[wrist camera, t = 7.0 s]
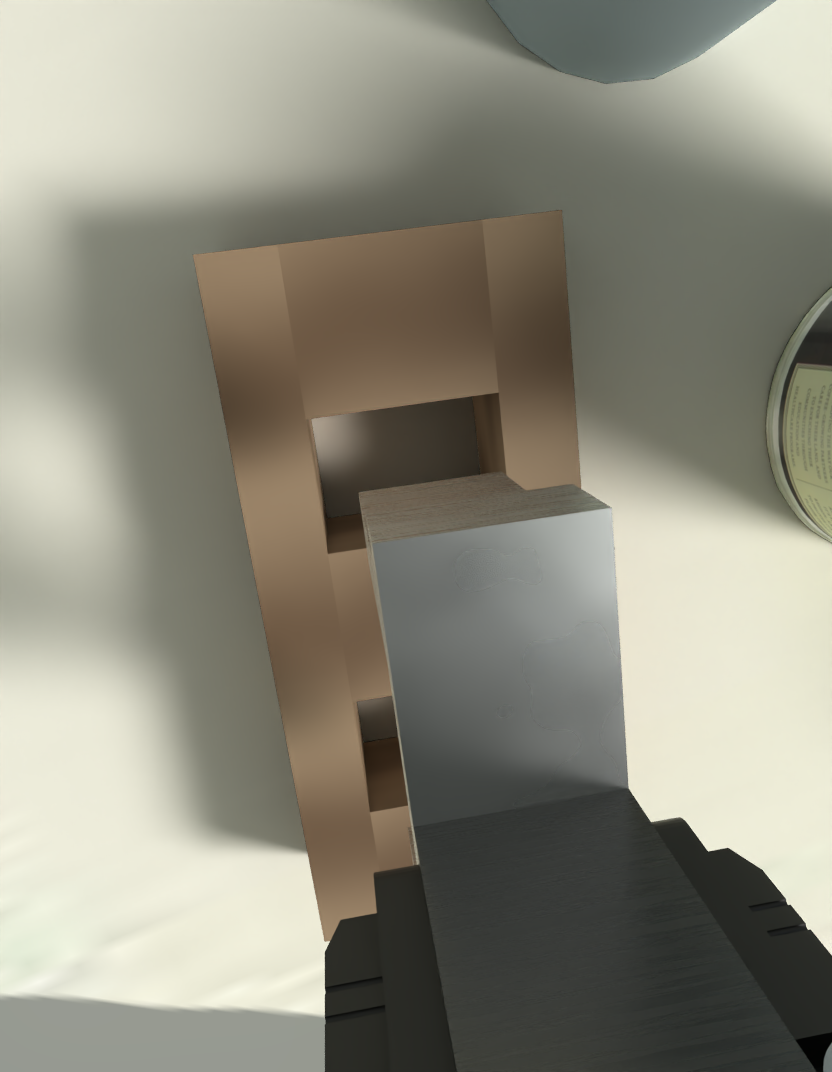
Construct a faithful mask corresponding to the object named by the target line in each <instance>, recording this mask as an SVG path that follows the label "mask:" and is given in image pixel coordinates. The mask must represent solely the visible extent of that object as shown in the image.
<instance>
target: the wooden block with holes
mask: <svg viewBox="0 0 832 1072" xmlns="http://www.w3.org/2000/svg"><path fill="white" fill-rule="evenodd" d="M193 258H194V263H195V268H196V274H197V279H198V284H199V289H200V294H201V300H202V305H203V310H204V315H205V321H206V326H207V331H208V336H209V341H210V347H211V352H212V357H213V362H214V367H215V373H216V378H217V383H218V388H219V393H220V399H221V404H222V409H223V414H224V420H225V425H226V430H227V435H228V440H229V446H230V451H231V456H232V461H233V466H234V472H235V477H236V482H237V487H238V492H239V498H240V503H241V508H242V513H243V519H244V524H245V529H246V534H247V539H248V545H249V550H250V555H251V560H252V565H253V571H254V576H255V581H256V586H257V592H258V597H259V602H260V607H261V612H262V618H263V623H264V628H265V633H266V638H267V644H268V649H269V654H270V659H271V664H272V670H273V675H274V680H275V685H276V691H277V696H278V701H279V706H280V711H281V717H282V722H283V727H284V732H285V737H286V743H287V748H288V753H289V758H290V763H291V769H292V774H293V779H294V784H295V790H296V795H297V800H298V805H299V810H300V816H301V821H302V826H303V831H304V836H305V842H306V847H307V852H308V857H309V862H310V868H311V873H312V878H313V883H314V889H315V894H316V899H317V904H318V909H319V915H320V920H321V925H322V930H323V935H324V941H325V942H326V941H331V939H332V936H333V934H334V932H335V930H336V928H337V926H338V924H339V922H340V920H342V919H347V918H353V917H358V916H363V915H369V914H374V913H377V910H376V898H375V887H374V872H380V871H385V870H391V869H396V868H402V867H407V866H413V860H412V853H411V846H410V839H409V833H408V827H411V821H410V814H409V807H408V800H407V794H406V787H405V780H404V773H403V766H402V759H401V752H400V746H399V739H398V737H394V738H388V739H382V740H376V741H371V742H365V743H363V737H362V731H361V725H360V718H359V712H358V706H357V702H358V701H364V700H370V699H376V698H382V697H388V696H392V691H391V684H390V677H389V670H388V663H387V658H386V653H385V647H384V642H383V637H382V631H381V626H380V621H379V616H378V610H377V605H376V600H375V594H374V589H373V584H372V578H371V573H370V568H369V561H368V555H367V548H366V541H365V534H364V527H363V521H362V514H354V515H348V516H341V517H334V518H328V519H327V514H326V508H325V502H324V496H323V490H322V483H321V477H320V471H319V465H318V459H317V452H316V446H315V440H314V434H313V428H312V422H311V419H313V418H320V417H327V416H334V415H341V414H348V413H356V412H363V411H370V410H377V409H384V408H392V407H399V406H406V405H413V404H420V403H427V402H435V401H442V400H449V399H456V398H463V397H470V396H472V399H473V408H474V418H475V427H476V437H477V447H478V456H479V466H480V474H487V473H494V472H501V471H502V472H503V473H504V474H506V475H507V476H508V477H509V478H511V479H512V480H513V481H514V482H516V483H517V484H518V485H519V486H521V487H522V488H523V489H524V490H533V489H540V488H546V487H553V486H560V485H567V484H574V485H576V486H577V487H579V488H580V489H581V479H580V464H579V450H578V436H577V421H576V407H575V392H574V378H573V363H572V349H571V334H570V320H569V306H568V291H567V277H566V262H565V248H564V233H563V219H562V210H556V211H548V212H540V213H532V214H524V215H515V216H507V217H499V218H491V219H483V220H474V221H466V222H458V223H450V224H442V225H433V226H425V227H417V228H409V229H401V230H392V231H384V232H376V233H368V234H360V235H351V236H343V237H335V238H327V239H319V240H310V241H302V242H294V243H286V244H278V245H269V246H261V247H253V248H245V249H237V250H228V251H220V252H212V253H204V254H196V255H193Z"/></svg>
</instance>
